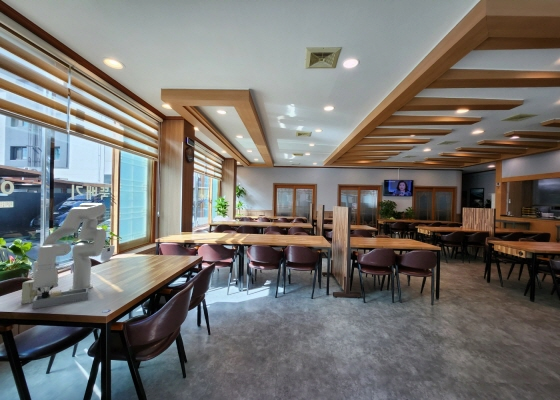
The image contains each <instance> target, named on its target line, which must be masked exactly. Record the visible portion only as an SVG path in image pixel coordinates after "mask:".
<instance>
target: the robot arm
mask: <svg viewBox="0 0 560 400" xmlns="http://www.w3.org/2000/svg"><path fill="white" fill-rule="evenodd" d="M106 211H107V207H106V205H105V204H104V203H100V202H99V203H98V202H84V203H80V204H78V206H77V207H73V208H71V209H70V210H69V211H68V213H67V215H66V217H65V218H64V220H63V222H62V224H61V225H60V227H59V228H57V229H55V230H53V232H51V233H50V234H48V236H47V237H46V238H45V240H44V241H43V243H42V245H41V246H39V248H38V253H37V261H38V270H36V272H35V276H34V283H33V290H39V291H40V292H41V293H42V294H41V295H42V298H43V299H46V298H47V297H49V294H50V291H52V290H53V289H54V288H57V287H59V272H58V271H59V270H58V267H59V263H57V262H56V259H57V257H62V256H67V255H68V254H70V253H72V257H73V272H72V273H73V274H72V286H71V287H69V291H70V290H77V289H83V288H88V290H89V289H91V288H93V287H94V285H93V283H91V279H92V278H91V275H92V261H91V258H90V257H94V258H95V257H99V256H101V255H102V253H103V251H104V246H105V243H106V238H107V232H106V231H107V230H106V229H105V228H103V227H98V223H99V222H98V217H101V216H103V215H104V214H105V213H106ZM81 223H82V225H81ZM80 225H81V228H80V232H79V236H78V237H79V240H81V241H82V242H78V243H76V244H75V245H74V246H73V247H72V246H71V245H70V244H69V243H62V242H61V243H59V242H58V241H60V239H62V238H64V237H66V236H69V235H71V234H74V233H76V232H77V231H78V230H79V227H80ZM57 242H58V243H57ZM44 287H48V288H47V290H46V291H45V290H44Z"/></svg>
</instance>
